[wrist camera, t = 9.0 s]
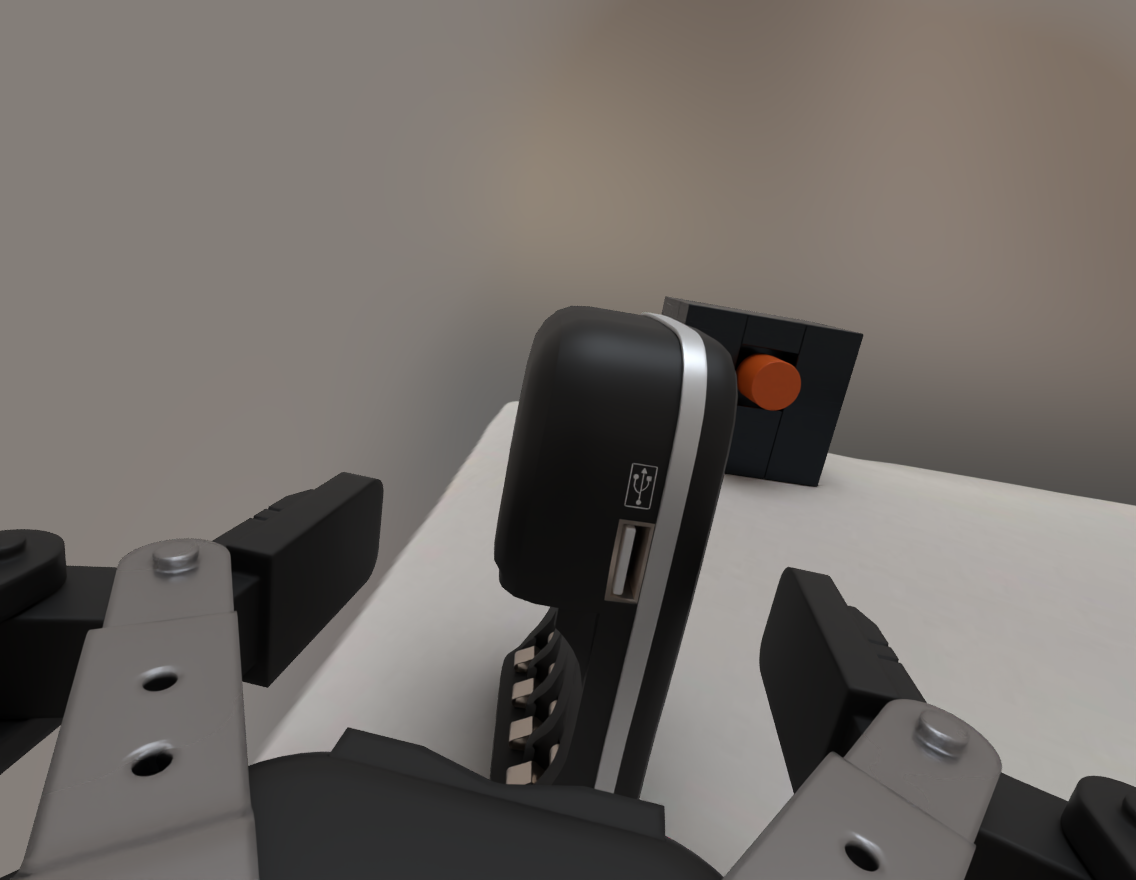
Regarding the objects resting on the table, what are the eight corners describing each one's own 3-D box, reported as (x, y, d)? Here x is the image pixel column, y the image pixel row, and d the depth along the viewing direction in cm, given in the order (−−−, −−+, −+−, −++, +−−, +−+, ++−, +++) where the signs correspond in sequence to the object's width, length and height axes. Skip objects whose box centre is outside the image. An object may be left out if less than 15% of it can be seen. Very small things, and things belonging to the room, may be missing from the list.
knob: (793, 414, 39) (807, 365, 38) (745, 406, 38) (758, 357, 37) (773, 401, 42) (786, 356, 41) (729, 394, 42) (741, 349, 41)
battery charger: (480, 655, 19) (533, 288, 16) (598, 668, 19) (674, 312, 16) (445, 869, 12) (526, 310, 9) (627, 885, 13) (765, 349, 9)
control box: (817, 487, 43) (864, 334, 40) (654, 462, 42) (689, 303, 39) (776, 452, 51) (812, 321, 48) (637, 431, 50) (665, 296, 47)
